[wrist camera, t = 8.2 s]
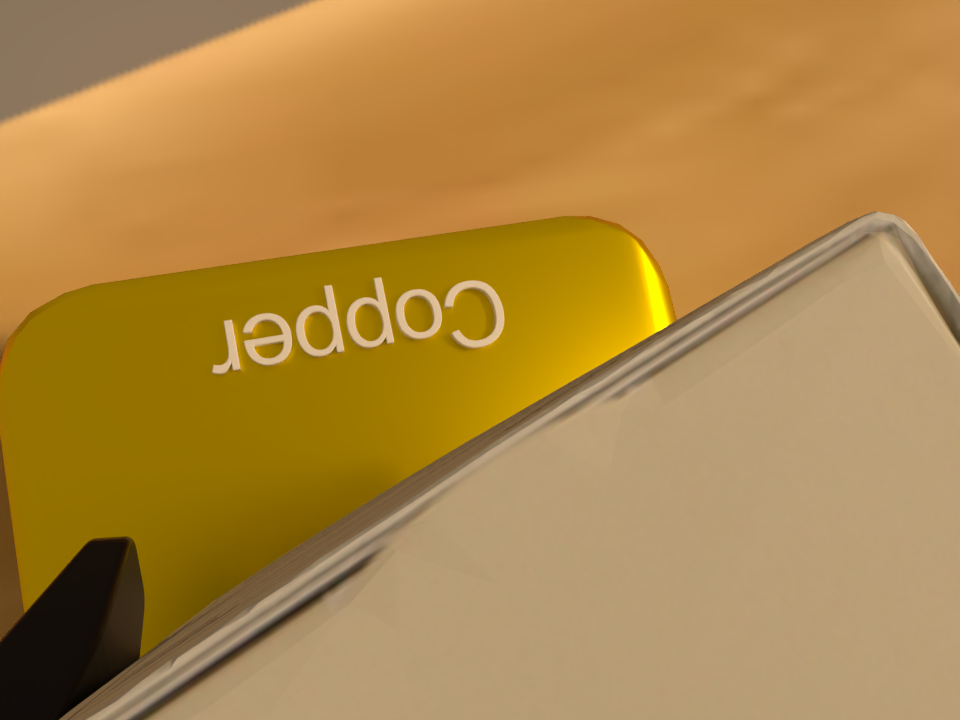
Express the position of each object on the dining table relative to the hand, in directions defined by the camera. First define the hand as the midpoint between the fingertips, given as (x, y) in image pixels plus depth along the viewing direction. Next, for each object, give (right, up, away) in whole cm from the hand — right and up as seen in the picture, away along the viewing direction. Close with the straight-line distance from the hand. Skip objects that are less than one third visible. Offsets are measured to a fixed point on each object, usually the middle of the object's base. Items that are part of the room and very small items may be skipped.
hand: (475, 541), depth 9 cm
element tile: (-2, -3, +12) cm, 13 cm away
